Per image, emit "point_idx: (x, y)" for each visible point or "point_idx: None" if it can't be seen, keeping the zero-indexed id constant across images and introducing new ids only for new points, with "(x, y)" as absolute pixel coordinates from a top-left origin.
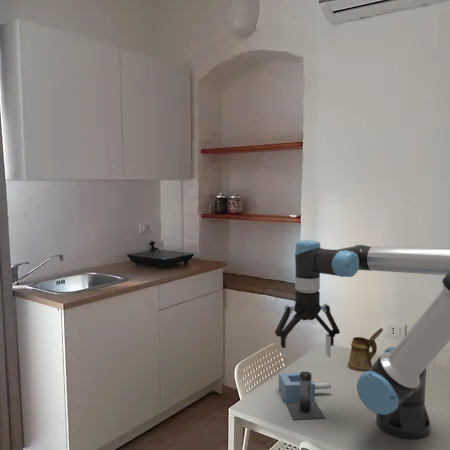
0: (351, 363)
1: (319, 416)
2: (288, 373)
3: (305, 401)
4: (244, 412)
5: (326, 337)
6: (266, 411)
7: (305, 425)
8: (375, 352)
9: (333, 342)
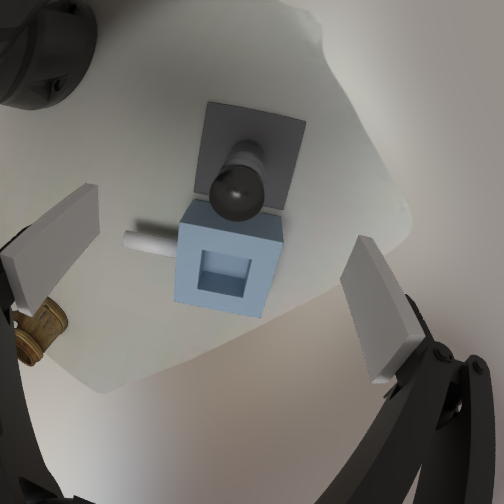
0: (58, 320)
1: (222, 110)
2: (232, 308)
3: (253, 148)
4: (404, 207)
5: (37, 288)
6: (353, 191)
7: (285, 85)
8: None
9: (17, 234)
